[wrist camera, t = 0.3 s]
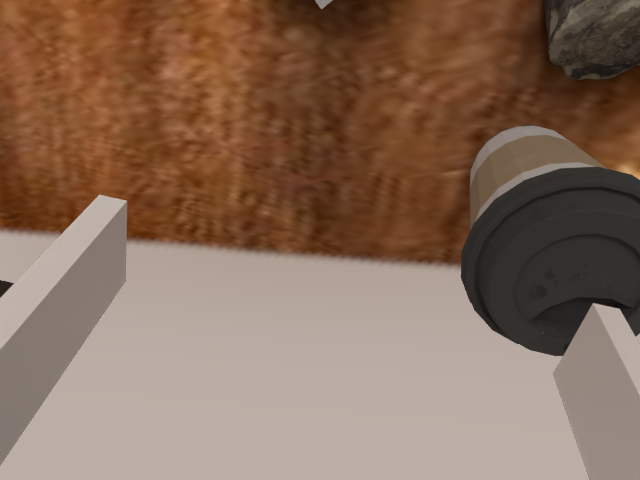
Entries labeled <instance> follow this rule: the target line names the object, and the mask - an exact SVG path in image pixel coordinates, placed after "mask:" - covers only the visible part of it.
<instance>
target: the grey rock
mask: <svg viewBox="0 0 640 480" xmlns="http://www.w3.org/2000/svg"><path fill="white" fill-rule="evenodd" d="M544 11H545V19H546V27H547V35H548V53H549V60H550V62H552V63H553V64H554V65H558V66H562V68H563V71H564V73H565V74H566V75H567V76H568V77H570V78H571V79H577V80H583V79H585V78H586V79H609V78H612V77H614V76H617V75H619V74H620V73H623V72H625V71H627V70H629V69H630V68H632V67H634V66H636V65H639V66H640V0H544Z"/></svg>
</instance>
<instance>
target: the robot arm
mask: <svg viewBox="0 0 640 480" xmlns="http://www.w3.org/2000/svg"><path fill="white" fill-rule="evenodd" d="M126 229H127V201H126V200H121V199H116V198H112V197H107V196H103V195H99V196H98V197H97V198H96V199H95V200H94V201H93V202H92V203H91V204H90V205H89V206H88V207H87V208H86V209H85V210H84V211H83V212H82V214H81V215H80V216H79V217H78V218H77V219H76V220H75V221H74V222H73V223H72V224H71V225H70V226H69V227H68V228H67V229H66V230H65V231H64V232H63V233H62V234H61V235H60V236H59V237H58V238H57V240H56V241H55V242H54V243H53V244H52V245H51V246H50V247H49V248H48V249H47V250H46V251H45V252H44V253H43V254H42V255H41V256H40V257H39V259H37V261H35V263H33V264H32V266H31V267H30V268H29V269H28V270H27V271H26V272H25V273H24V274H23V275H22V276H21V277H20V278H19V279H18V280H17V281H16V282H15V283H10V282H6V281H1V280H0V465H1V464H2V462H3V461H4V459H5V458H6V457H7V455H8V454H9V452H10V451H11V449H12V448H13V446H14V445H15V443H16V442H17V440H18V439H19V437H20V436H21V434H22V433H23V432H24V430H25V429H26V427H27V426H28V424H29V423H30V421H31V420H32V418H33V417H34V415H35V414H36V412H37V411H38V409H39V408H40V406H41V405H42V403H43V402H44V401H45V399H46V398H47V396H48V395H49V393H50V392H51V390H52V389H53V387H54V386H55V384H56V383H57V381H58V380H59V378H60V377H61V375H62V374H63V372H64V371H65V370H66V368H67V367H68V365H69V364H70V362H71V361H72V359H73V358H74V356H75V355H76V353H77V352H78V350H79V349H80V347H81V346H82V344H83V343H84V342H85V340H86V339H87V337H88V335H89V334H90V333H91V331H92V329H93V328H94V327H95V325H96V324H97V322H98V321H99V319H100V318H101V316H102V315H103V314H104V312H105V311H106V309H107V308H108V306H109V305H110V303H111V302H112V300H113V299H114V297H115V296H116V294H117V293H118V291H119V290H120V288H121V287H122V286H123V284H124V283H125V279H126V277H125V276H126ZM553 375H554V378H555V381H556V384H557V387H558V390H559V393H560V396H561V398H562V401H563V404H564V407H565V410H566V413H567V415H568V419H569V422H570V424H571V427H572V430H573V433H574V436H575V439H576V442H577V445H578V447H579V450H580V453H581V456H582V459H583V462H584V465H585V467H586V470H587V473H588V476H589V479H590V480H640V344H639V342H638V340H637V339H636V337H635V335H634V333H633V331H632V330H631V328H630V326H629V324H628V323H627V321H626V319H625V317H624V316H623V314H622V312H621V310H620V309H618V308H613V307H608V306H604V305H599V304H595V303H593V304H592V306H591V308H590V309H589V311H588V313H587V315H586V316H585V318H584V320H583V322H582V324H581V325H580V327H579V329H578V331H577V332H576V334H575V336H574V338H573V340H572V341H571V343H570V345H569V347H568V348H567V350H566V352H565V354H564V356H563V357H562V359H561V361H560V363H559V364H558V366H557V368H556V370H555V372H554V373H553Z"/></svg>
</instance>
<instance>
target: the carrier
mask: <svg viewBox="0 0 640 480" xmlns="http://www.w3.org/2000/svg"><path fill="white" fill-rule="evenodd" d="M315 1H316V3H317V4H318V5H319V7H320V8H321V9H323V8H324V7H325V6H326V5H328V4H329V3H330V2H331V1H333V0H315Z"/></svg>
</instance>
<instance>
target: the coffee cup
mask: <svg viewBox="0 0 640 480" xmlns="http://www.w3.org/2000/svg"><path fill="white" fill-rule="evenodd" d="M461 279H462V281H463V284H464V287H465V290H466V292H467V295H468V298H469V300H470V302H471V303H472V305H473V307H474V310H475V311H476V312H477V313H478V314H479V315H480V317H481V318H482V319H483V320H484V321H485V322H486V323H487V324H488V325H489V327H490V328H491V329H492V330H493V331H495V332H497V333H499V334H501V335H502V336H504V337H506V338H508V339H509V340H511V341H513V342H515V343H517V344H520V345H522V346H524V347H525V348H527V349H529V350H532V351H537V352H541V353H545V354H549V355H554V356H564V354H565V352H566V350H567V348H568V347H569V345H570V343H571V341H572V340H573V338H574V336H575V334H576V332H577V331H578V329H579V327H580V325H581V324H582V322H583V320H584V318H585V316H586V315H587V313H588V311H589V309H590V308H591V306H592V304H593V303H595V304H599V305H604V306H608V307H613V308H618V309H620V310H621V312H622V314H623V316H624V317H625V319H626V321H627V323H628V324H629V326H630V328H631V330H632V331H633V333H634V335H635V337H636V336H637V335H638V334H639V333H640V180H639V179H637V178H636V177H634V176H633V175H630V174H626V173H622V172H618V171H614V170H610V169H607V168H606V167H605V166H603V165H602V164H600V163H599V162H598V161H596V160H595V159H594V158H592V157H591V156H589V155H588V154H587V153H585V152H584V151H583V150H581V149H580V148H578V147H577V146H576V145H574V144H573V143H571V142H570V141H569V140H567V139H566V138H564V137H563V136H561V135H560V134H558V133H557V132H555V131H554V130H550V129H546V128H542V127H538V126H533V125H532V126H516V127H513V128H510V129H508V130H505V131H502V132H500V133H499V134H497V135H496V136H494V137H493V138H491V139H490V140H489V141H487V143H486V144H485V145H484V146H483V148H482V149H481V150H480V151H479V153H478V155H477V156H476V159H475V161H474V164H473V166H472V169H471V171H470V233H469V235H468V238H467V240H466V243H465V245H464V247H463V250H462V265H461Z"/></svg>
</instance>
